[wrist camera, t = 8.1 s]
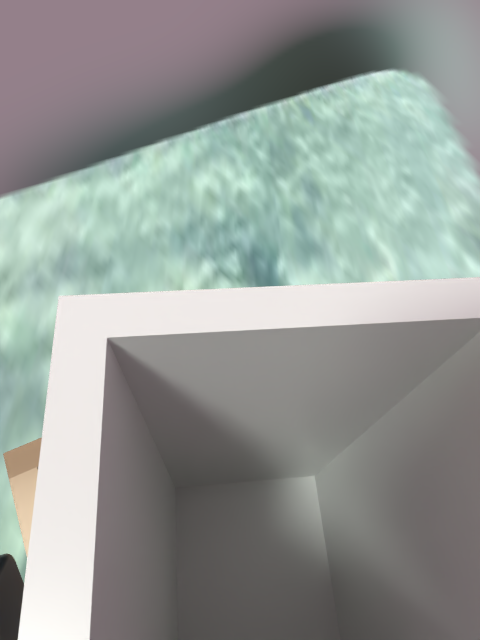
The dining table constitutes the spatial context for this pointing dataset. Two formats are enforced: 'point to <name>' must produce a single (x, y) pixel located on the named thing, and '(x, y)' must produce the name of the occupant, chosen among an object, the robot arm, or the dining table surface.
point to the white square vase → (260, 466)
